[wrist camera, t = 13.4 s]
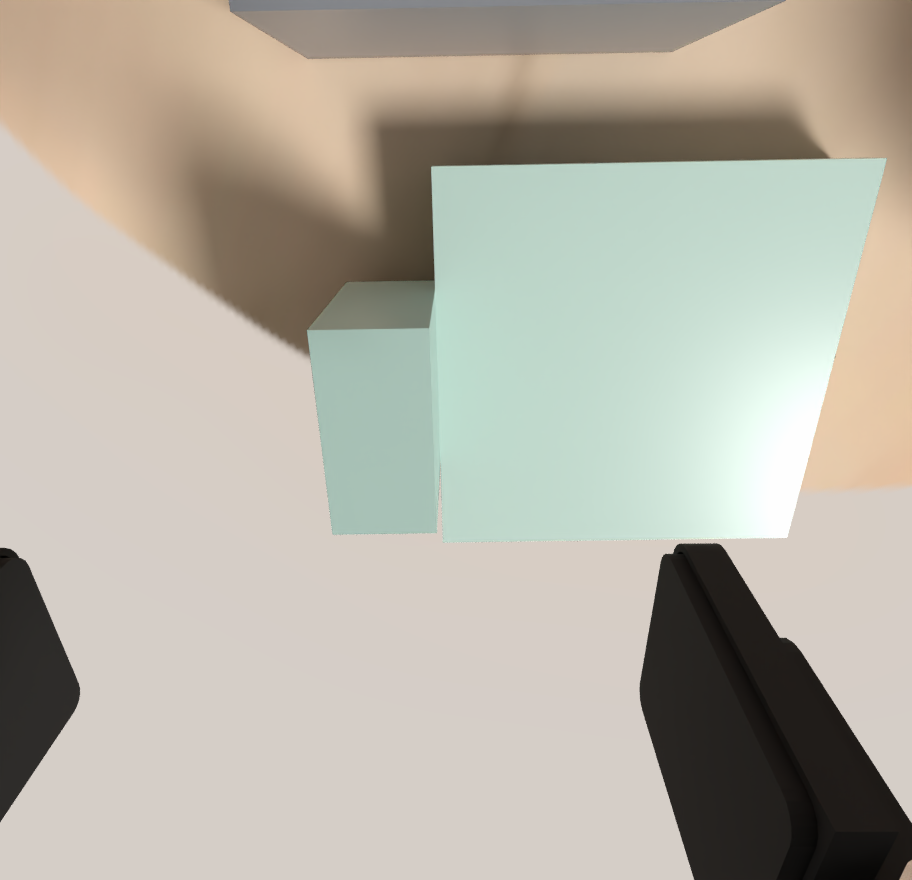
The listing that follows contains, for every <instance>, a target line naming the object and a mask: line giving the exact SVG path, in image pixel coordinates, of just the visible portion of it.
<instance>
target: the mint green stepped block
mask: <svg viewBox="0 0 912 880" xmlns="http://www.w3.org/2000/svg"><path fill="white" fill-rule="evenodd" d="M886 161H887V158H824V159H770V160H716V161H662V162H607V163H553V164H499V165H445V166H431V178H432V209H433V241H434V273H435V280H429V281H370V282H346V283H345V285H344V286H343V287H342V288H341V289H340V291H339V292H338V293H337V294H336V295H335V297H334V298H333V299H332V300H331V302H330V303H329V304H328V305H327V306H326V308H325V309H324V310H323V311H322V312H321V314H320V315H319V316H318V317H317V319H316V320H315V321H314V322H313V323H312V325H311V326H310V327H309V328H308V330H307V335H308V343H309V351H310V359H311V367H312V374H313V383H314V391H315V399H316V407H317V415H318V423H319V431H320V439H321V447H322V455H323V463H324V470H325V478H326V486H327V494H328V502H329V510H330V518H331V526H332V533H333V534H335V535H336V534H408V533H437V517H438V496H439V477H440V464H441V494H442V527H443V542H508V541H509V542H514V541H578V540H579V541H581V540H582V541H584V540H585V541H586V540H651V539H652V540H654V539H655V540H656V539H657V540H658V539H727V538H728V539H731V538H787V536H788V532H789V529H790V525H791V521H792V518H793V514H794V510H795V506H796V502H797V499H798V495H799V491H800V487H801V483H802V480H803V476H804V472H805V468H806V464H807V461H808V457H809V453H810V449H811V445H812V442H813V438H814V434H815V430H816V426H817V423H818V419H819V415H820V411H821V407H822V404H823V400H824V396H825V392H826V388H827V385H828V381H829V377H830V373H831V369H832V366H833V362H834V358H835V354H836V350H837V347H838V343H839V339H840V335H841V331H842V328H843V324H844V320H845V316H846V312H847V309H848V305H849V301H850V297H851V293H852V290H853V286H854V282H855V278H856V275H857V271H858V267H859V263H860V259H861V256H862V252H863V248H864V244H865V240H866V237H867V233H868V229H869V225H870V221H871V218H872V214H873V210H874V206H875V202H876V199H877V195H878V191H879V187H880V183H881V180H882V176H883V172H884V168H885V164H886Z"/></svg>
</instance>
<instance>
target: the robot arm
mask: <svg viewBox="0 0 912 880" xmlns="http://www.w3.org/2000/svg"><path fill="white" fill-rule="evenodd" d="M79 696H80V687H79V683H78V681H77V678H76V676H75V674H74V671H73V669H72V667H71V664H70V662H69V660H68V657H67V655H66V653H65V650H64V648H63V645H62V643H61V641H60V638H59V636H58V634H57V631H56V629H55V627H54V624H53V622H52V620H51V617H50V615H49V612H48V610H47V608H46V605H45V603H44V601H43V598H42V596H41V594H40V591H39V589H38V587H37V584H36V582H35V579H34V577H33V575H32V572H31V570H30V568H29V566H28V564H27V562H26V561H25V560H23V559H21V558H19V557H18V555H17V554H16V553H15V552H14V551H12V550H11V549H7V548H0V822H1V820H2V819H3V817H4V816H5V814H6V813H7V811H8V810H9V808H10V807H11V805H12V804H13V802H14V801H15V799H16V798H17V796H18V795H19V793H20V792H21V790H22V789H23V787H24V786H25V784H26V783H27V781H28V780H29V778H30V777H31V775H32V774H33V772H34V771H35V769H36V768H37V766H38V765H39V763H40V762H41V760H42V759H43V757H44V756H45V754H46V753H47V751H48V750H49V748H50V747H51V745H52V744H53V742H54V741H55V739H56V738H57V736H58V735H59V733H60V732H61V730H62V729H63V727H64V726H65V724H66V723H67V721H68V720H69V719H70V717H71V715H72V714H73V712H74V711H75V709H76V707H77V704H78V701H79ZM640 701H641V706H642V711H643V714H644V717H645V721H646V724H647V727H648V730H649V733H650V737H651V740H652V743H653V747H654V750H655V753H656V756H657V760H658V763H659V766H660V769H661V773H662V776H663V779H664V782H665V786H666V789H667V792H668V795H669V799H670V802H671V805H672V808H673V812H674V815H675V818H676V822H677V824H678V828H679V831H680V835H681V838H682V841H683V844H684V848H685V851H686V854H687V857H688V861H689V864H690V867H691V871H692V874H693V877H694V880H912V823H911V822H910V820H909V819H908V817H907V816H906V814H905V812H904V811H903V809H902V808H901V806H900V805H899V803H898V801H897V800H896V798H895V797H894V795H893V794H892V792H891V791H890V789H889V787H888V786H887V784H886V783H885V781H884V780H883V778H882V777H881V775H880V774H879V772H878V771H877V769H876V767H875V766H874V764H873V763H872V761H871V760H870V758H869V756H868V755H867V753H866V752H865V750H864V749H863V747H862V746H861V744H860V742H859V741H858V739H857V738H856V737H855V735H854V733H853V732H852V730H851V729H850V727H849V725H848V724H847V722H846V721H845V719H844V718H843V716H842V715H841V713H840V711H839V710H838V708H837V707H836V705H835V704H834V702H833V701H832V699H831V697H830V696H829V694H828V693H827V691H826V690H825V688H824V687H823V685H822V683H821V682H820V680H819V679H818V677H817V676H816V674H815V673H814V671H813V670H812V668H811V666H810V665H809V663H808V662H807V660H806V659H805V657H804V656H803V654H802V652H801V651H800V650H799V649H798V648H797V646H796V645H795V644H794V643H793V642H792V641H790V640H788V639H787V638H779V636H778V635H777V633H776V631H775V630H774V628H773V627H772V625H771V624H770V622H769V620H768V619H767V617H766V615H765V614H764V612H763V611H762V609H761V607H760V606H759V604H758V602H757V601H756V599H755V598H754V596H753V594H752V593H751V591H750V590H749V588H748V586H747V585H746V583H745V581H744V580H743V578H742V577H741V575H740V574H739V572H738V570H737V569H736V567H735V565H734V564H733V562H732V560H731V559H730V557H729V556H728V554H727V552H726V551H725V550H724V548H723V547H722V546H721V545H719V544H678V545H677V546H676V548H675V549H674V553H673V554H665V555H663V557H662V560H661V564H660V570H659V576H658V582H657V587H656V593H655V599H654V605H653V611H652V617H651V622H650V628H649V634H648V640H647V645H646V652H645V658H644V663H643V669H642V675H641V681H640Z"/></svg>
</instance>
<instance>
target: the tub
mask: <svg viewBox="0 0 912 880" xmlns="http://www.w3.org/2000/svg"><path fill="white" fill-rule="evenodd" d="M784 1H786V0H229V6H230V12H232V13H234V14H235V15H237V16H238V17H240V18H242V19H243V20H245V21H247V22H248V23H250V24H252V25H253V26H255V27H257V28H258V29H260V30H261V31H263V32H265V33H266V34H268V35H270V36H271V37H273V38H275V39H276V40H278V41H280V42H281V43H283V44H284V45H286V46H288V47H289V48H291V49H293V50H294V51H296V52H298V53H299V54H301V55H303V56H304V57H306V58H307V59H322V58H374V57H426V56H478V55H530V54H582V53H635V52H673V51H675V50H677V49H679V48H681V47H684V46H686V45H688V44H690V43H693V42H695V41H697V40H699V39H701V38H704V37H706V36H708V35H710V34H713V33H715V32H717V31H719V30H721V29H724V28H726V27H728V26H730V25H733V24H735V23H737V22H739V21H741V20H744V19H746V18H748V17H750V16H753V15H755V14H757V13H759V12H761V11H764V10H766V9H768V8H770V7H773V6H775V5H777V4H779V3H781V2H784Z"/></svg>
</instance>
